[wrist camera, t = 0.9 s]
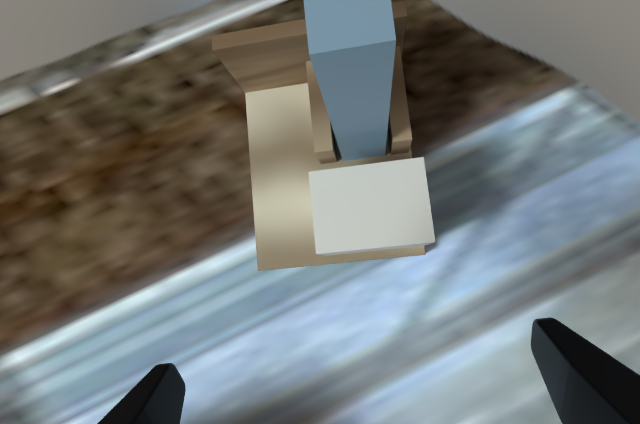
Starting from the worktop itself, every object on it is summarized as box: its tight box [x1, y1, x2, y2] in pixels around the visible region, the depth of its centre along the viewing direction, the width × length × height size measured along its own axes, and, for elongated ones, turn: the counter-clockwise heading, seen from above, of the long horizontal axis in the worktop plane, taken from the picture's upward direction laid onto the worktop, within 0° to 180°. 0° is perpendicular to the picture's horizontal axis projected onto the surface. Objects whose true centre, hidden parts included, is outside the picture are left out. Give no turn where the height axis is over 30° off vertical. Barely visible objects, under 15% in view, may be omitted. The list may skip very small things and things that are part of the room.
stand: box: [212, 1, 425, 271], centre depth 21 cm, size 12×10×6 cm
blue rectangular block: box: [304, 0, 396, 161], centre depth 17 cm, size 5×2×12 cm, turn 6°
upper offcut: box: [308, 157, 435, 255], centre depth 19 cm, size 4×6×2 cm
